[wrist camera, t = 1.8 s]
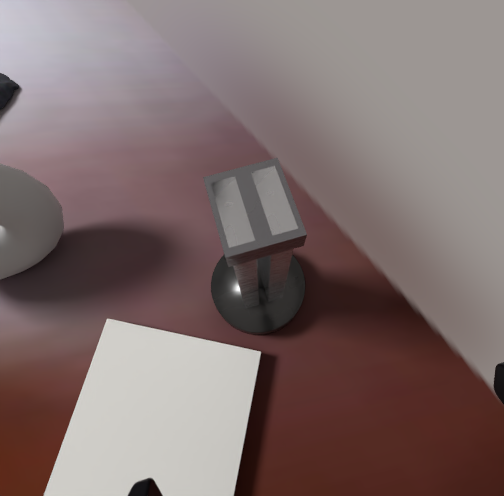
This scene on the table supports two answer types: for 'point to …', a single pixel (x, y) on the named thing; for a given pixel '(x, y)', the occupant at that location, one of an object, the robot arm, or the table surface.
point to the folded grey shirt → (6, 89)
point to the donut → (26, 221)
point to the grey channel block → (256, 248)
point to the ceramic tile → (157, 416)
